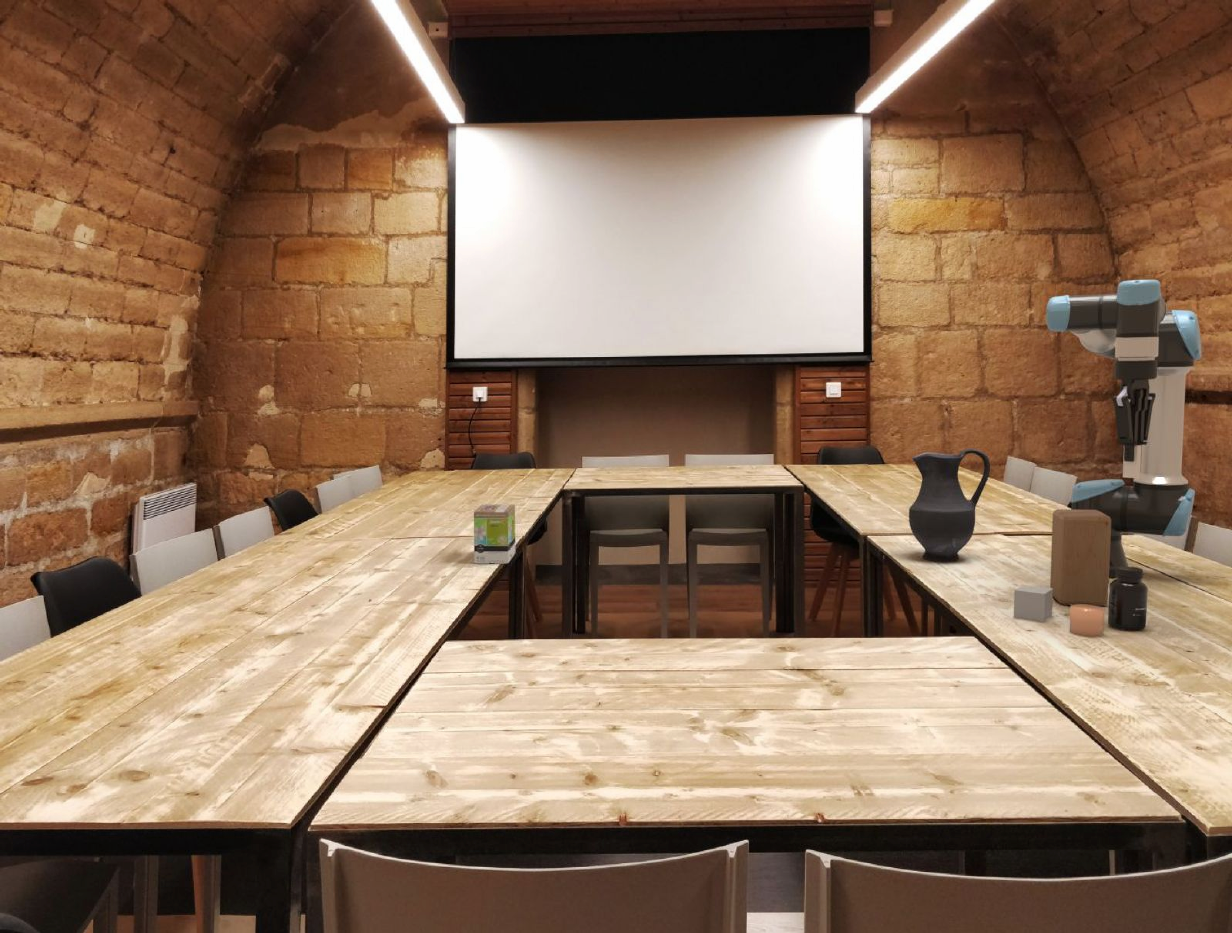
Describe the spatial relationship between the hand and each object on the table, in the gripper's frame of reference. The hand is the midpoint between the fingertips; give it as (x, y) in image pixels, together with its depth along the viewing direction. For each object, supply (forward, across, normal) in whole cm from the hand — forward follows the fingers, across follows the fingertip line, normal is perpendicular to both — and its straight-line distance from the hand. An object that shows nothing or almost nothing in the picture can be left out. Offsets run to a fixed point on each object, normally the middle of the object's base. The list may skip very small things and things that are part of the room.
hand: (1131, 477), depth 194 cm
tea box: (+30, +67, -142) cm, 160 cm away
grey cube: (+30, +10, -14) cm, 35 cm away
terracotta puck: (+30, +13, -1) cm, 33 cm away
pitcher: (+31, -28, -61) cm, 74 cm away
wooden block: (+31, -10, -15) cm, 35 cm away
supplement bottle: (+30, +3, +2) cm, 30 cm away
